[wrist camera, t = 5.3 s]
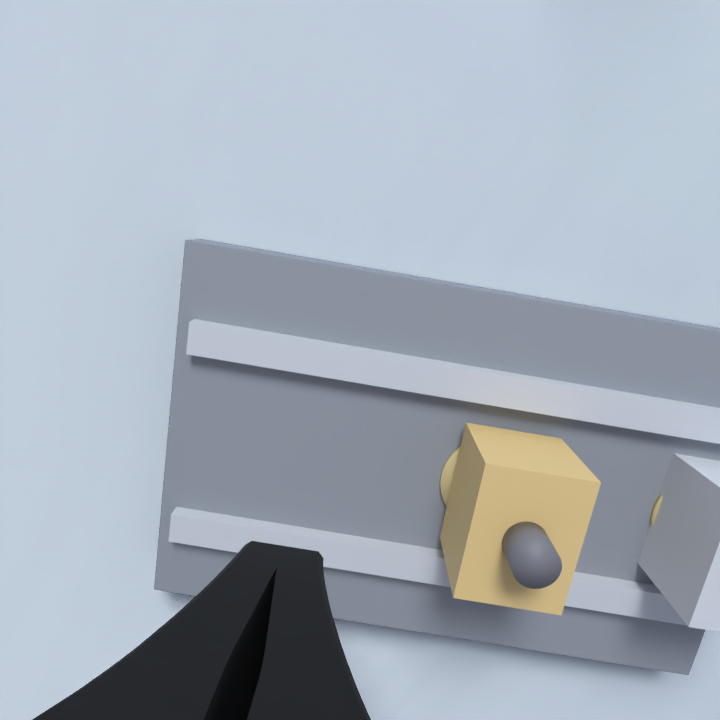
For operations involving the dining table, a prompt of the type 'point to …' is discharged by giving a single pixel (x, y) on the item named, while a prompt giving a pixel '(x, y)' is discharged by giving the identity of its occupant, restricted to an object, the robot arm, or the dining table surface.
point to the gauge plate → (438, 445)
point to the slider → (516, 519)
